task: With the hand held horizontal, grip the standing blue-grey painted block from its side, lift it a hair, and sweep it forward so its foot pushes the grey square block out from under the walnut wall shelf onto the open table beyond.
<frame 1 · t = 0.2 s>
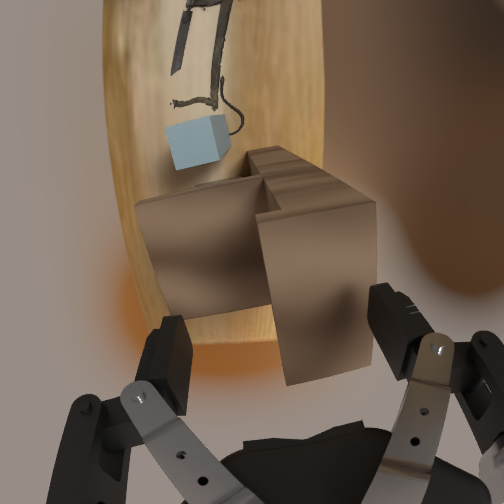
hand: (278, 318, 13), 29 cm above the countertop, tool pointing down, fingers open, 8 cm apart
hacksaw: (216, 43, 32), on the countertop
shelf cabinet: (269, 186, 39), on the countertop
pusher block: (212, 133, 36), on the countertop, tilted 6°
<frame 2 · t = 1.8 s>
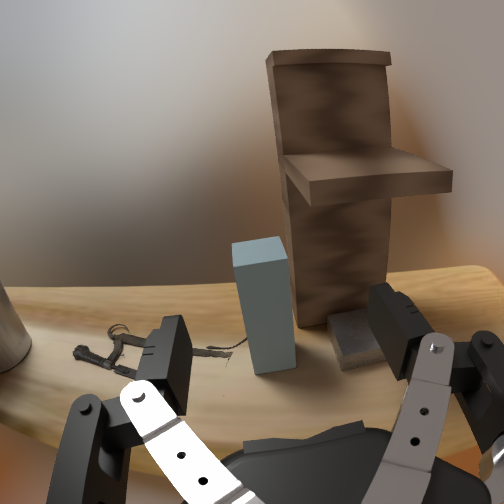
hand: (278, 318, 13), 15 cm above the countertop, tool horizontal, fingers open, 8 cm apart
hacksaw: (166, 354, 33), on the countertop
shelf cabinet: (336, 309, 35), on the countertop
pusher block: (272, 356, 30), on the countertop
grey square block: (361, 346, 29), on the countertop
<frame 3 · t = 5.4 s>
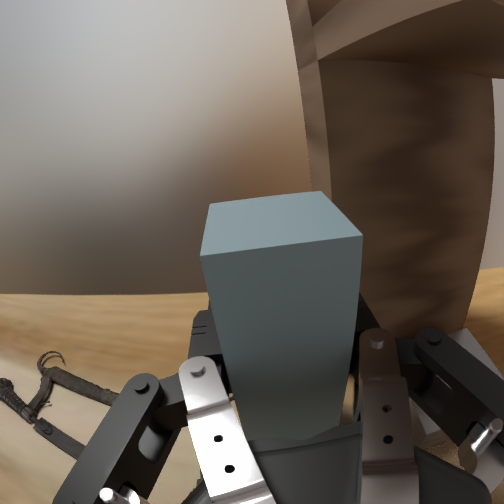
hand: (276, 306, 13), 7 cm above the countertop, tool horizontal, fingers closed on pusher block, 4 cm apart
hacksaw: (111, 407, 18), on the countertop
shelf cabinet: (391, 335, 20), on the countertop
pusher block: (288, 430, 14), on the countertop, touching gripper
grey square block: (439, 399, 14), on the countertop
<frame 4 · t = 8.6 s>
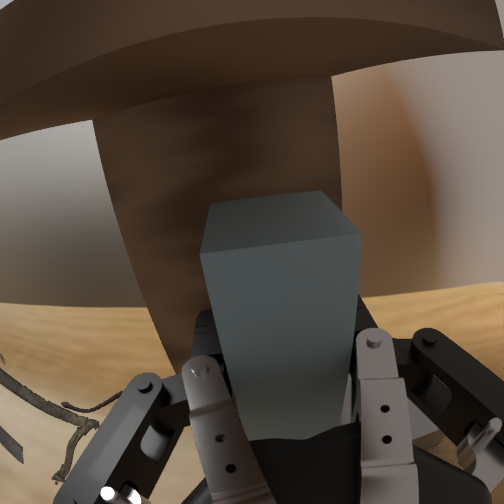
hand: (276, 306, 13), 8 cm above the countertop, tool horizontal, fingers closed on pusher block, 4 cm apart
hacksaw: (27, 401, 18), on the countertop
shelf cabinet: (259, 366, 20), on the countertop
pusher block: (289, 429, 15), point 1 cm above the countertop, touching gripper
grey square block: (376, 421, 15), on the countertop
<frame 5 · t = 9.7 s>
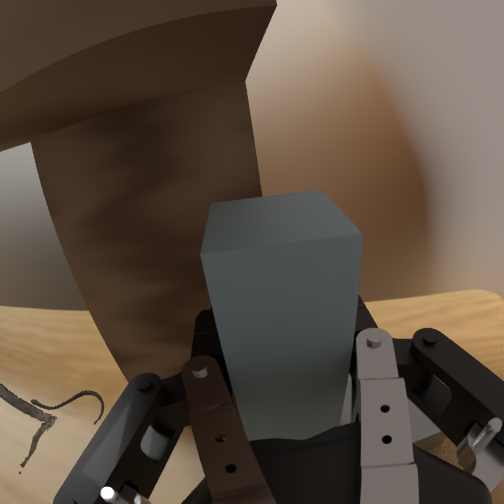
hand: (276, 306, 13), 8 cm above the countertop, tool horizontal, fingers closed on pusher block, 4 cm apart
hacksaw: (3, 398, 18), on the countertop
shelf cabinet: (209, 372, 20), on the countertop
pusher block: (289, 429, 15), point 1 cm above the countertop, touching gripper
grey square block: (376, 423, 15), on the countertop
when the fingers open (8 cm above the countertop, at t = 11.1 s): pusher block stays where it is, on the countertop.
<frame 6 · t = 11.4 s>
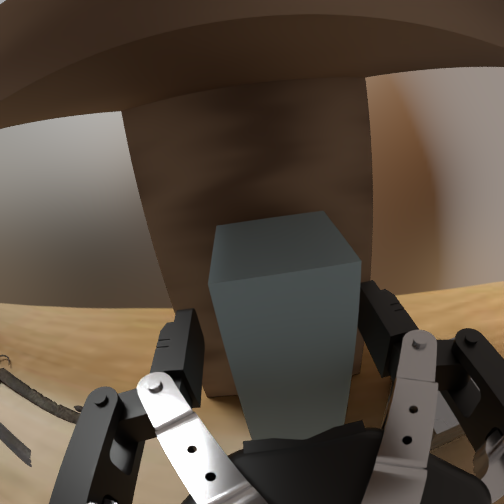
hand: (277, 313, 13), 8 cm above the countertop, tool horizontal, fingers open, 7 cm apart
hacksaw: (36, 405, 18), on the countertop
shelf cabinet: (280, 366, 20), on the countertop
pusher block: (295, 435, 15), on the countertop
grey square block: (445, 401, 15), on the countertop
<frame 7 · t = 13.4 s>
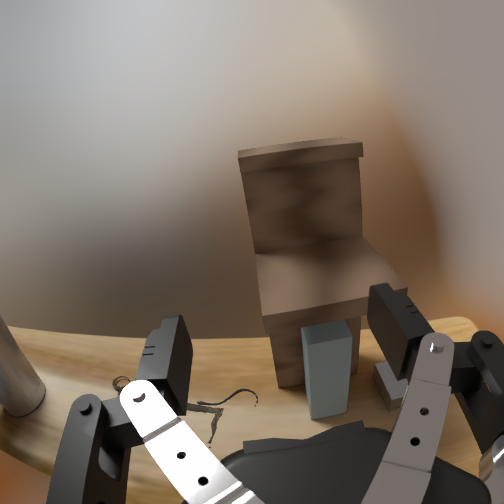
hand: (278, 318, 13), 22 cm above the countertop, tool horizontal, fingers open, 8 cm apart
hacksaw: (163, 406, 35), on the countertop
shelf cabinet: (315, 369, 37), on the countertop
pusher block: (325, 403, 32), on the countertop
grey square block: (402, 387, 31), on the countertop
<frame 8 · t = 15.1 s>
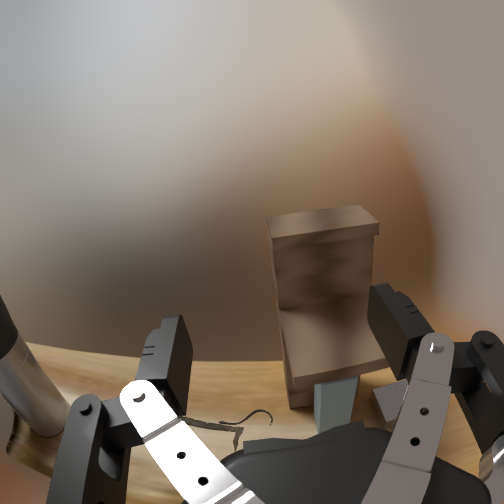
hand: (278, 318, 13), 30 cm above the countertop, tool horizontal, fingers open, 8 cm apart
hacksaw: (188, 425, 40), on the countertop
shelf cabinet: (321, 392, 41), on the countertop
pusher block: (330, 422, 36), on the countertop
grey square block: (395, 408, 36), on the countertop
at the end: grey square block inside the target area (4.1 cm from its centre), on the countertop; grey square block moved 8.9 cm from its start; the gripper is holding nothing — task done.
